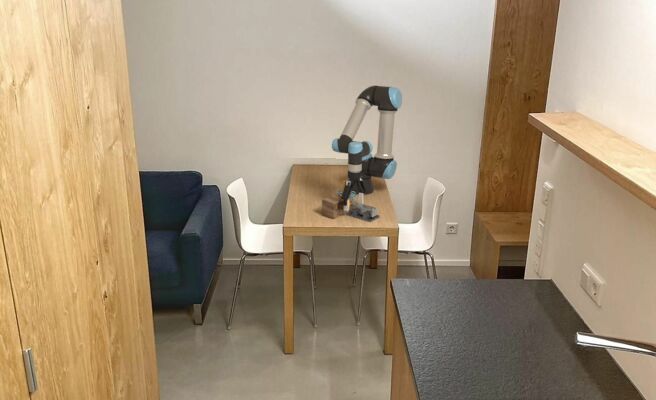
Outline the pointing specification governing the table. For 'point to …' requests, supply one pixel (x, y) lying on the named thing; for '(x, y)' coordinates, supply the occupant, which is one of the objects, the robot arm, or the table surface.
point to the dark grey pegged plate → (364, 217)
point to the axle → (364, 209)
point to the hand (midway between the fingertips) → (353, 207)
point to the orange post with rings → (350, 194)
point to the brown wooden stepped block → (333, 207)
